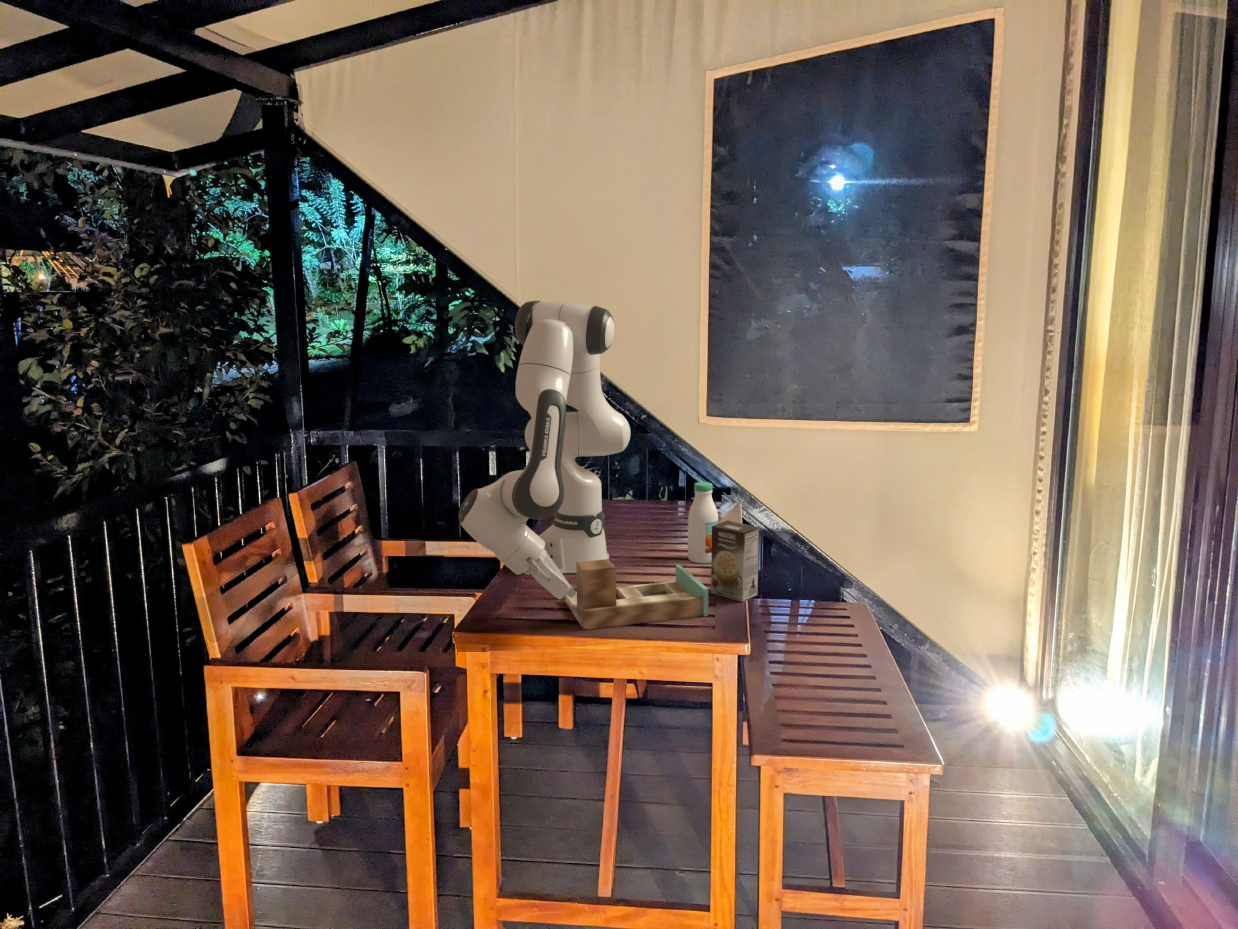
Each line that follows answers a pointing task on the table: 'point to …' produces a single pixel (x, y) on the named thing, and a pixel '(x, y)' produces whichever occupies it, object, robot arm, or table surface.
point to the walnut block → (595, 584)
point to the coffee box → (734, 560)
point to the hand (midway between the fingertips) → (572, 593)
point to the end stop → (692, 586)
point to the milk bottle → (701, 524)
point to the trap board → (640, 606)
